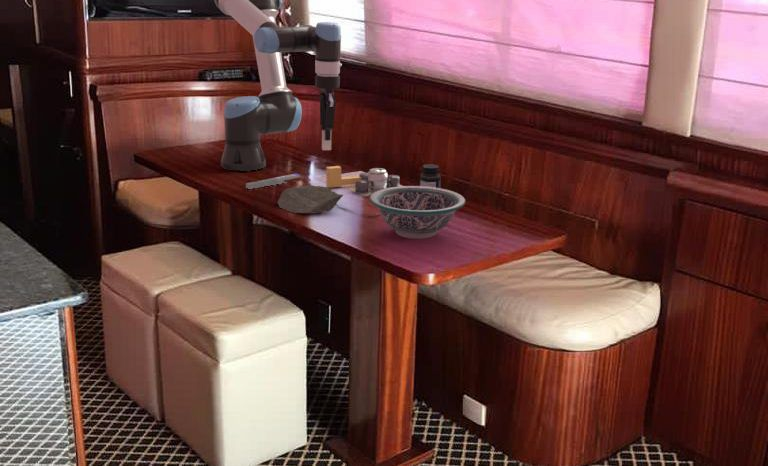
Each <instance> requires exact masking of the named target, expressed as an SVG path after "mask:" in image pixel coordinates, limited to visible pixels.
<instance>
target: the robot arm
mask: <svg viewBox="0 0 768 466" xmlns="http://www.w3.org/2000/svg"><path fill="white" fill-rule="evenodd" d="M214 3H215V5H216V7H217V8H218V10H219V11H221V12H222V13H223V14H224V15H226V16H230V17H232V18H233V19H234V20H235V21H236V22H237V23H238V24H239V25H240V26H241V27H243V28H244V30H246V31H247V32H248V33H250V35H252V40H253V45H254V46H253V47H254V52H255V59H256V65H257V69H258V76H259V81H260V87H261V92H260V93H259V95H258V96H254V95H248V96H245V95H244V96H237V97H234V98H231V99H229V100H227V101H226V102H225V104H224V109H223V118H224V136H225V137H224V139H225V142H224V143H225V146H224V149H223V152H222V156H221V158H220V167H221V166H222V167H223V168H226V169H230V170H240V171H247V172H252V171H251V170H256V171H258V170H257V169H261V168H263V169H265V168H266V167H267V162H266V157H265V154H264V151H263V149H262V146H261V135H269V134H271V135H272V134H273V135H274V134H280V133H281V134H285V133H289V132H294V131H295V130H297V128H298V127H299V126H300V123H301V121H302V115H303V114H302V112H303V111H302V110H303V109H302V103H301V102H300V99H299V98H297V97H295V96H293V91H292V90H291V89H290V88H288V87H287V81H286V76H285V75H286V74H285V69H284V64H283V58H282V57H283V56H282V53H290V52H291V53H294V52H295V53H296V52H297V53H298V52H299V53H300V52H312V53H315V61H314V62H315V64H314V65H315V67H314V68H315V69H314V72H315V74H316V75H315V76H314V77H315V78H314V79H315V82H314V83H315V87H316V88H318V89H320V90H321V91H320V92H319V94H318V99H319V100H318V101H319V115H320V120H319V122H320V123H319V124H320V126H321V128H320V129H321V150H322V151H331V150H332V134H333V133H332V132H333V130H334V126H335V124H334V123H335V113H336V105H337V101H336V100H335V99H336V95H335V93H334V90H336V89H339V88H340V84H341V77H340V75H339V74H340V73H341V67H342V65H343V64H342V63H341V51H342V50H341V47H342V46H341V45H342V43H341V42H342V33H341V32H342V31H341V25H340V24H339V23H337V22H331V21H330V22H329V21H325V22H324V21H321V22H317V23H316V24H315V26H313V25H310V24H303V25H300V26H279V25H278V24H277V23H276V17H277V16H278V14H279V13H280V12H279V10H280V9H281V8H282V6H283V0H214ZM265 166H266V167H265ZM264 167H265V168H264ZM261 170H262V169H261Z"/></svg>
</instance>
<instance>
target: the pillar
mask: <svg viewBox="0 0 768 466" xmlns="http://www.w3.org/2000/svg"><path fill="white" fill-rule="evenodd" d="M298 178H299V179H300V178H301V175H300V174H298V173H292V174H286V175H281V176H277V177H272V178H267V179H266V178H265V179H262V180H256V181H252V182H251V181H250V182H247V183H245V189H246V188H248V189H253V188H259V187H264V186H270V185H274V186H277V185H276V184H279V185H283V184H282V183H284V184H287V183H288V182H287V181H288V180H294V179H298ZM270 187H271V186H270Z"/></svg>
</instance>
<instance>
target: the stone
mask: <svg viewBox="0 0 768 466" xmlns="http://www.w3.org/2000/svg"><path fill="white" fill-rule="evenodd" d="M343 196H344V195H343V194H339V193H337V192H335V191H332V189H331V188H329V187H327V186H320V185H312V184H311V185H309V184H307V185H302V186H295V187H287V188H285V189H284V190H283V191H282V192H281V194H280V197H279V199H278V200H277V204H278V207H279V209H280V208H283V209H286V210H287V211H290V212H294V213H293V214H316V213H323V212H325V213H326V212H327V213H328V212H330V211H332V210H333V209H334V208H335V206H336V205H337V203H338V202H339V201H340V200H341V198H343ZM287 211H286V212H287ZM290 212H289V213H290Z"/></svg>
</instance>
